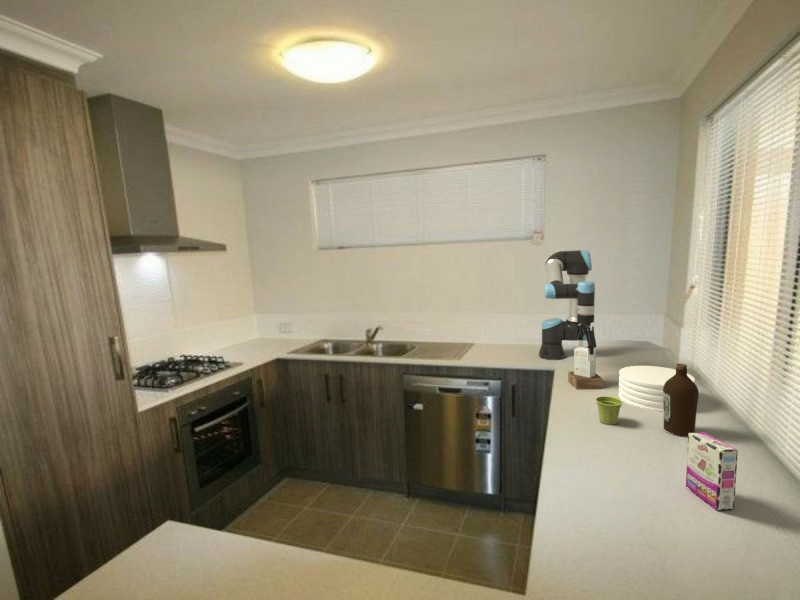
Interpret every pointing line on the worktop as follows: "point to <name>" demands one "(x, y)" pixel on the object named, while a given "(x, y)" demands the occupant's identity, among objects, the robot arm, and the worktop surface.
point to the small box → (584, 363)
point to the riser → (585, 381)
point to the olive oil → (680, 403)
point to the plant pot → (608, 409)
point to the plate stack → (644, 385)
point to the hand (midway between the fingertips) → (585, 356)
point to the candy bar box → (711, 470)
